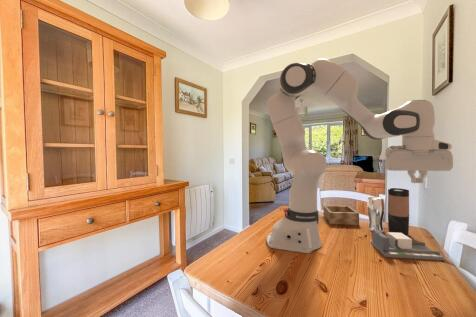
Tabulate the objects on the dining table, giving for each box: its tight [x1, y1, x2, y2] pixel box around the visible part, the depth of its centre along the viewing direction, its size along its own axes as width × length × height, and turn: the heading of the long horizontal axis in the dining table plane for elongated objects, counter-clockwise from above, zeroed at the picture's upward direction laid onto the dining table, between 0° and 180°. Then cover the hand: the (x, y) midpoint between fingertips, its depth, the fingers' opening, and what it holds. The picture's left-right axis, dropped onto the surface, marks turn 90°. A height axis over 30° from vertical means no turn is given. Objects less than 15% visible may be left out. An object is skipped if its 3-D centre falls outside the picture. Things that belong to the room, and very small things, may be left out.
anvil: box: [372, 230, 389, 252], centre depth 77 cm, size 2×8×5 cm, turn 171°
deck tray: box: [322, 205, 360, 226], centre depth 112 cm, size 14×14×6 cm
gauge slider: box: [386, 231, 413, 250], centre depth 75 cm, size 5×8×4 cm, turn 170°
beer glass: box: [366, 196, 386, 233], centre depth 97 cm, size 7×7×15 cm
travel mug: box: [387, 187, 410, 237], centre depth 92 cm, size 8×8×20 cm
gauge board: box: [370, 239, 445, 261], centre depth 76 cm, size 18×11×2 cm, turn 80°
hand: (417, 182), depth 75 cm, fingers closed
